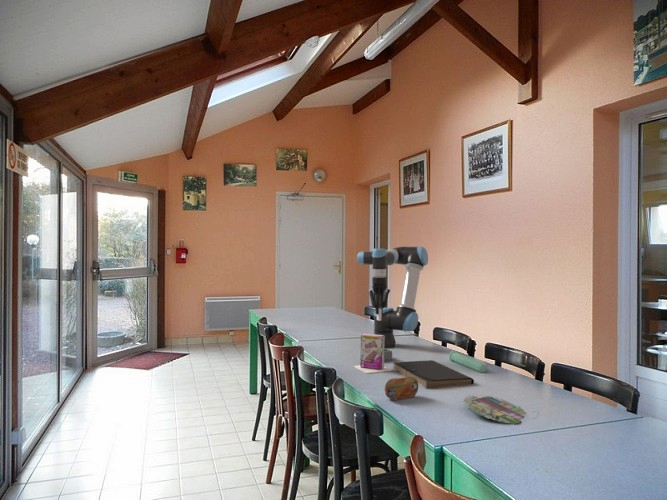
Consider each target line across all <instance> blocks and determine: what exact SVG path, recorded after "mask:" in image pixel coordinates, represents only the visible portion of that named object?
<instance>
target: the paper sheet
mask: <svg viewBox="0 0 667 500" xmlns="http://www.w3.org/2000/svg"><path fill="white" fill-rule="evenodd" d="M353 368H356V369H357V370H359V371H361V372H363V373H365V374H368V375H369V374H374V373H385V371H386V372H391V371H393V370H392V368H388V367H387V366H385V365H384V368H383V369H382V370H379V369H370V368H361V367H360V364H359V365H353Z"/></svg>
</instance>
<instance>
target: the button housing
mask: <svg viewBox="0 0 667 500" xmlns="http://www.w3.org/2000/svg"><path fill="white" fill-rule="evenodd" d="M391 361H393V351H392V350H390V349H389V348H384V362H391Z"/></svg>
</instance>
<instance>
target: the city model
mask: <svg viewBox="0 0 667 500" xmlns="http://www.w3.org/2000/svg"><path fill="white" fill-rule="evenodd" d="M462 402H463V403H464V405H466V406H467V409H469V410H470V411H472V412H474V413H475V414H477V415H479V416H481V417H485V418H486V419H488V420H489V419H491V420H493V421H497V422H499V423H505V424H512V425H513V424H514V425H518V424H519V423H522V420H523V418H525V417H526V415H527V411H524V410H523V408H521V405H519V406H517V405H516V404H513V403H511V402H509V401H507V400H505V399H503V398H499V397H495V396H489V395H485V394H483V395H482V394H472V395H468V396H465V397H464V399H463V400H462Z"/></svg>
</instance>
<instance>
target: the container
mask: <svg viewBox="0 0 667 500" xmlns="http://www.w3.org/2000/svg"><path fill="white" fill-rule="evenodd" d="M448 358H449V360H450V361H451V362H454V363H456V364H459V365H461V366H462V367H463V366H464V367H465V368H469V369H471V370H473V371H476V372H478V373H485V372H486V371H487V365H486V364H485V363H484V362H482V361H479V360H477V359H474V358H472V357H469V356H468V355H467V356H466V355H465V354H462V353H460V352H458V351H456V350H451V352H450V353H449V354H448Z"/></svg>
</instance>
